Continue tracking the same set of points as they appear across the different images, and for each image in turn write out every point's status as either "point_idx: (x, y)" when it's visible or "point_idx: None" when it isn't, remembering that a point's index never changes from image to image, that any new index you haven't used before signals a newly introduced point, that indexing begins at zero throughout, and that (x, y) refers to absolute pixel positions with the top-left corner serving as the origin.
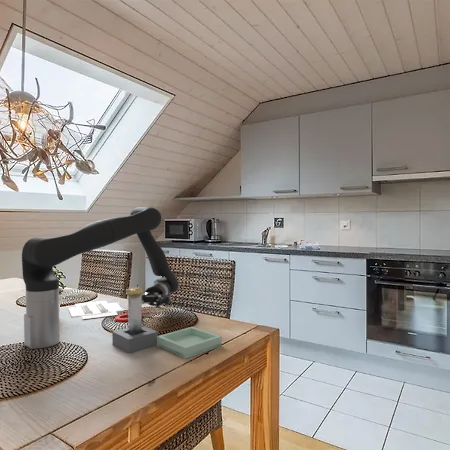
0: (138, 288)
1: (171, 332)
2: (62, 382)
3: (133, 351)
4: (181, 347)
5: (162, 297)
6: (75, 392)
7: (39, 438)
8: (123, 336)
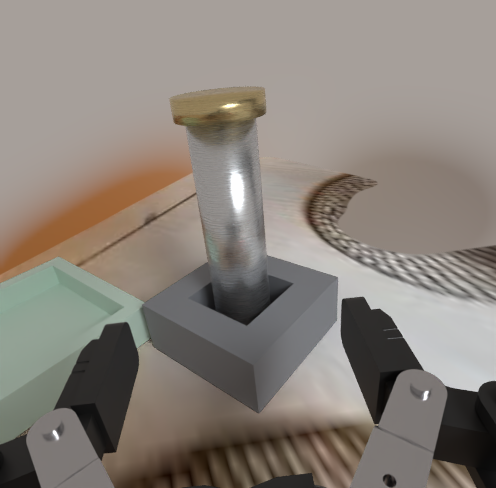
0: (202, 97)
1: (80, 345)
2: (305, 198)
3: None
4: (68, 263)
5: (38, 436)
6: (263, 191)
7: None
8: None
